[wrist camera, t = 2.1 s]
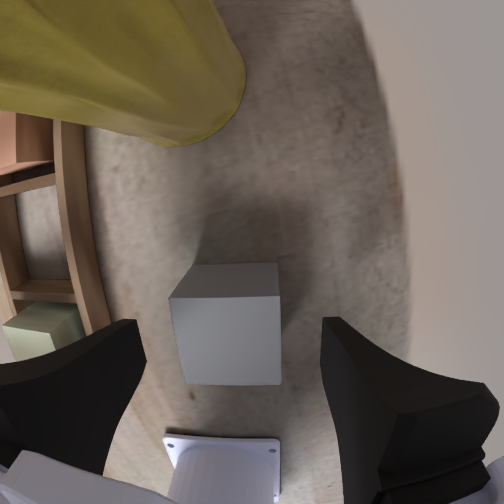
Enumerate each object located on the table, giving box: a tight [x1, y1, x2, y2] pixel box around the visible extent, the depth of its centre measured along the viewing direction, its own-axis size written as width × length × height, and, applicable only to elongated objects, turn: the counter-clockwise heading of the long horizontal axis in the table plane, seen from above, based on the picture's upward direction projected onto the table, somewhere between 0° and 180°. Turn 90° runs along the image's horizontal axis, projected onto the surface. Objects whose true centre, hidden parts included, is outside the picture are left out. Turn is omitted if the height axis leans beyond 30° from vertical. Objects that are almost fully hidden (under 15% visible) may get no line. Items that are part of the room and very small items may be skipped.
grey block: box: [168, 262, 281, 385], centre depth 13 cm, size 4×4×4 cm
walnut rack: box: [0, 111, 111, 362], centre depth 13 cm, size 18×6×4 cm, turn 3°
